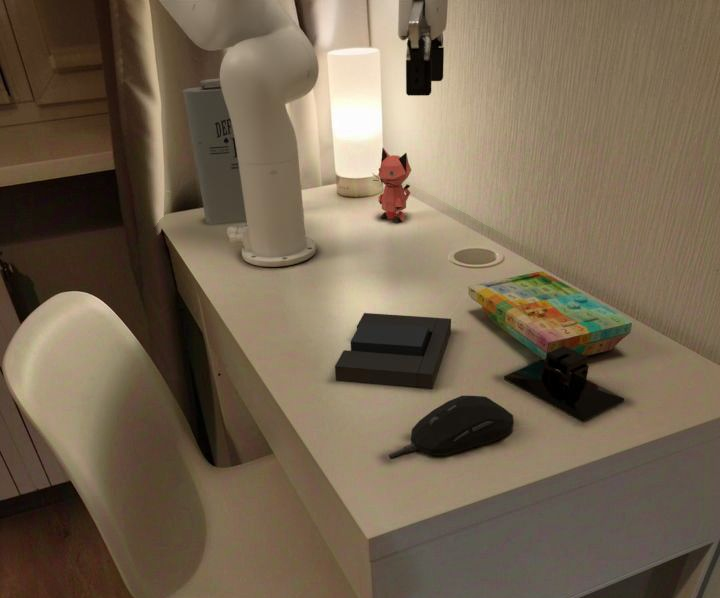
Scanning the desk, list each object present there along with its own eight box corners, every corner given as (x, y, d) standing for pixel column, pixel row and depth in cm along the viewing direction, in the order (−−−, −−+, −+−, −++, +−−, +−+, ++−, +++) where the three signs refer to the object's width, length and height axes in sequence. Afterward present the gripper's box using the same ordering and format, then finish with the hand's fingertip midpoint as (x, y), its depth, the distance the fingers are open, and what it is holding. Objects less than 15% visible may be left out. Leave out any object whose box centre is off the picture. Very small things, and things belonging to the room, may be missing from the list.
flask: (206, 225, 137) (180, 76, 121) (205, 218, 140) (179, 72, 125) (297, 214, 139) (282, 67, 124) (293, 207, 143) (279, 63, 127)
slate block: (421, 368, 90) (421, 346, 89) (351, 362, 92) (350, 341, 90) (428, 347, 95) (428, 326, 93) (361, 342, 96) (360, 322, 95)
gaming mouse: (376, 442, 78) (374, 411, 76) (491, 406, 83) (493, 375, 80) (404, 473, 74) (403, 441, 71) (524, 433, 78) (528, 401, 76)
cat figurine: (369, 219, 135) (366, 150, 128) (394, 209, 139) (393, 142, 132) (395, 227, 131) (394, 157, 124) (421, 217, 135) (422, 148, 127)
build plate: (502, 379, 88) (505, 344, 85) (545, 360, 91) (549, 326, 88) (582, 423, 79) (588, 386, 76) (626, 400, 82) (633, 364, 80)
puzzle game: (549, 335, 84) (468, 280, 100) (545, 371, 87) (467, 312, 103) (633, 316, 87) (542, 265, 103) (626, 351, 90) (539, 296, 106)
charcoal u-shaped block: (432, 388, 86) (432, 374, 85) (335, 380, 89) (334, 366, 88) (450, 332, 98) (451, 318, 96) (364, 326, 100) (364, 312, 99)
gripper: (409, -73, 94) (410, 76, 104) (380, -69, 81) (384, 101, 91) (467, -76, 92) (461, 75, 103) (446, -73, 79) (443, 101, 90)
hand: (425, 87), depth 97 cm, fingers open, 9 cm apart
